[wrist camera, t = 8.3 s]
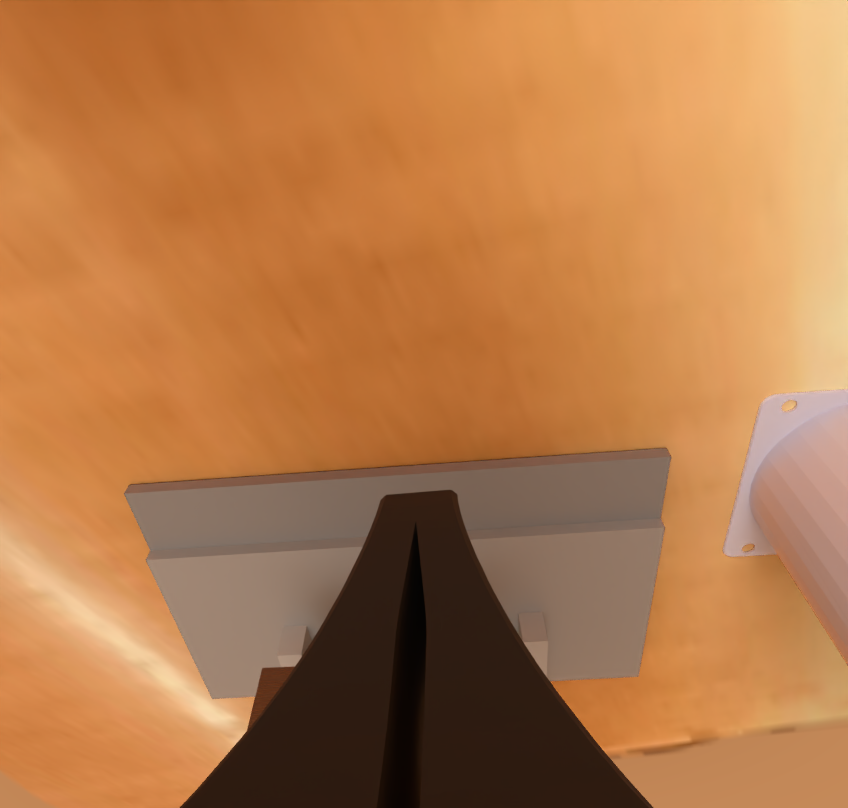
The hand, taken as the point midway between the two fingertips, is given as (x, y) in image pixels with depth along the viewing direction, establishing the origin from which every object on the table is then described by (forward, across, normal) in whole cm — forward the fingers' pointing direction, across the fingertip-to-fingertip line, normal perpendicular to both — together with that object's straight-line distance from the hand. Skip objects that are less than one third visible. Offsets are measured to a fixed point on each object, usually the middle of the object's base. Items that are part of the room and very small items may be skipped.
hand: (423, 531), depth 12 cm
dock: (+9, +2, +12) cm, 15 cm away
